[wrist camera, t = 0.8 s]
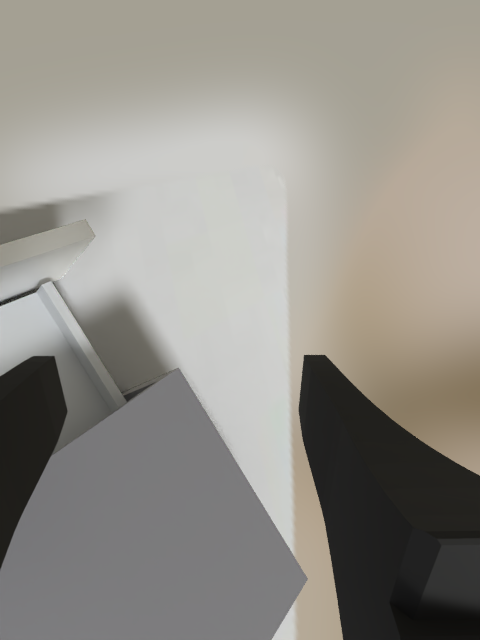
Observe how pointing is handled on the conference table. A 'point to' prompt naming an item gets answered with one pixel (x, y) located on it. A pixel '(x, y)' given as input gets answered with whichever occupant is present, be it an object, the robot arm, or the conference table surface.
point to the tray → (53, 324)
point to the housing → (147, 535)
